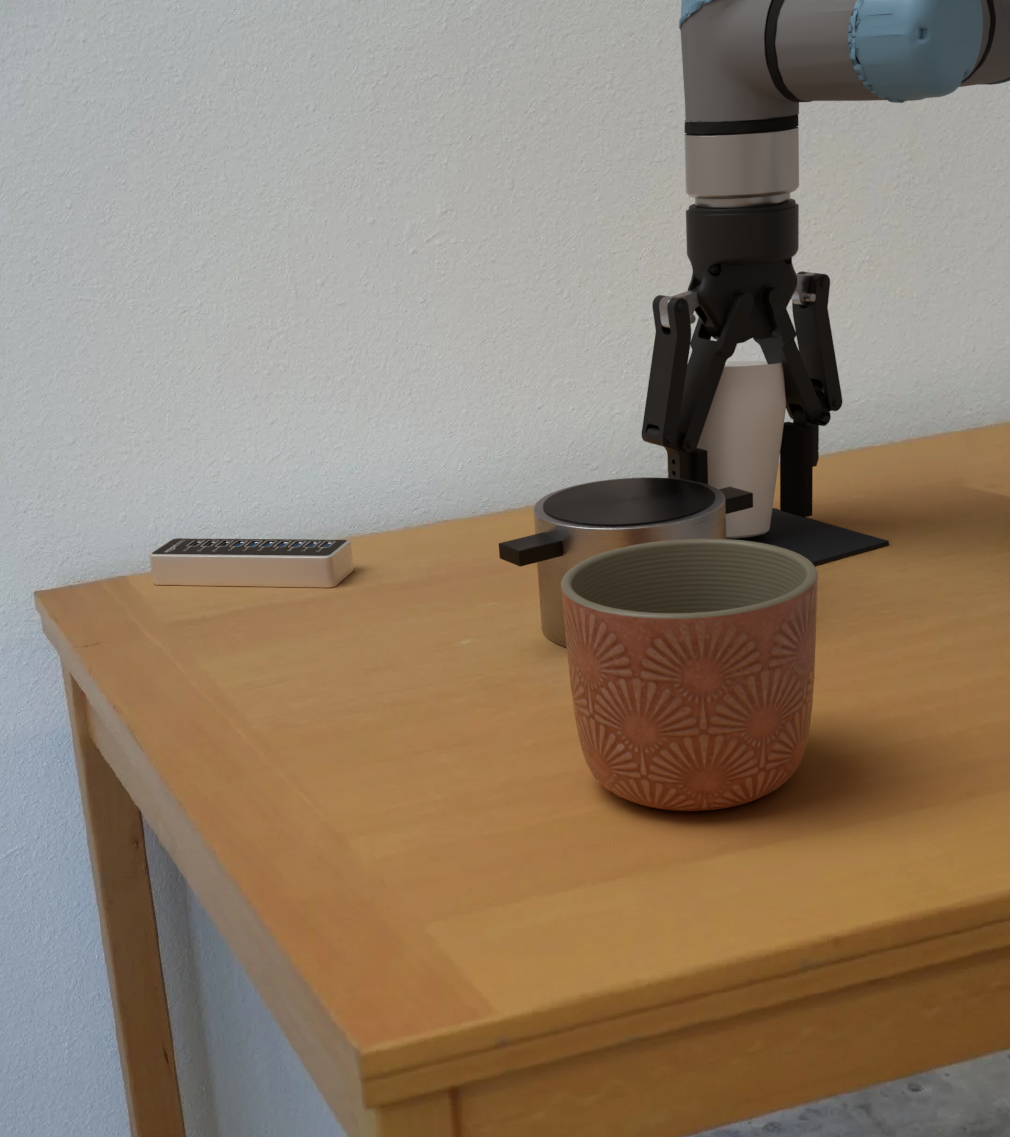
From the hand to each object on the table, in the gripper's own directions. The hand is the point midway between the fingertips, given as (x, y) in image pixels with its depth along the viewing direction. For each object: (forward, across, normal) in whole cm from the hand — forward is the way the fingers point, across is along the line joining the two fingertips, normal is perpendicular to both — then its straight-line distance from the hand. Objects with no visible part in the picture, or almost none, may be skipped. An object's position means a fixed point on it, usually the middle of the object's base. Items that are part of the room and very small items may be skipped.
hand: (745, 525), depth 123 cm
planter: (+2, +28, +30) cm, 41 cm away
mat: (+2, 0, 0) cm, 2 cm away
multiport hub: (+2, +30, -20) cm, 36 cm away
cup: (+1, +1, -2) cm, 2 cm away
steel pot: (+2, +16, +8) cm, 18 cm away
